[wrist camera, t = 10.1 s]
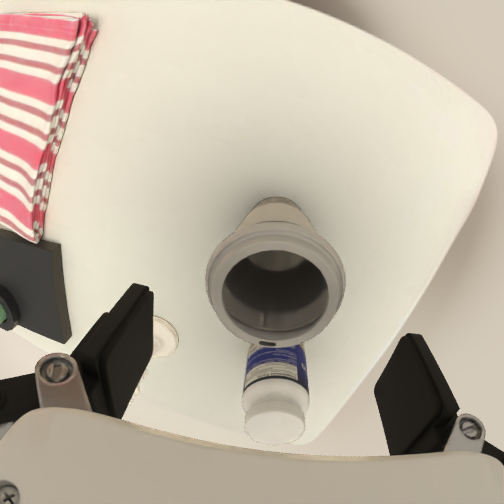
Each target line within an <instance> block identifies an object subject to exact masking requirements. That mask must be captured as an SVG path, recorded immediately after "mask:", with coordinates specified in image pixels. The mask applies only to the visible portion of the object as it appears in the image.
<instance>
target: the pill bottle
mask: <svg viewBox="0 0 504 504" xmlns="http://www.w3.org/2000/svg"><path fill="white" fill-rule="evenodd" d="M242 406H243V409H244V411H245V413H246V416H245V432H246V434H247V435H248V436H249V437H250V438H251V439H253V440H254V441H256V442H259V443H262V444H267V445H282V444H287V443H290V442H293V441H295V440H296V439H298V438H299V437H300V436H301V435H302V434H303V432H304V430H305V417H304V414H305V412H306V411H307V409H308V406H309V389H308V379H307V368H306V357H305V350H304V347H303V345H302V343H301V344H298V345H294V346H290V347H282V348H270V347H263V346H258V345H254V344H251V345H250V347H249V350H248V355H247V363H246V371H245V380H244V387H243V395H242Z"/></svg>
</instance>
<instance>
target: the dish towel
mask: <svg viewBox="0 0 504 504" xmlns="http://www.w3.org/2000/svg"><path fill="white" fill-rule="evenodd" d="M93 26H94V23H93V22H92V17H89V16H88V14H85V13H67V12H29V13H8V14H7V13H0V223H1V224H2V225H4V226H5V227H7V228H9V229H10V230H12V231H14V232H15V233H17V234H18V235H20V236H22V237H23V238H25V239H27V240H28V241H31V242H33V243H36V244H37V243H38V242H39V240H40V238H41V236H42V235H43V221H44V213H45V210H46V207H47V199H48V196H49V191H50V182H51V178H52V170H53V165H54V161H55V157H56V154H57V153H58V149H59V147H60V142H61V139H62V136H63V133H64V130H65V124H66V122H67V119H68V115H69V109H70V105H71V102H72V99H73V96H74V93H75V91H76V89H77V86H78V84H79V80H80V78H81V76H82V73H83V70H84V68H85V63H86V61H87V59H88V56H89V52H90V46H91V44H92V42H93V40H94V38H95V36H96V34H97V31H98V30H96V29H92V28H93Z"/></svg>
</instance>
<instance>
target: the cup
mask: <svg viewBox="0 0 504 504" xmlns="http://www.w3.org/2000/svg"><path fill="white" fill-rule="evenodd" d="M205 280H206V291H207V294H208V298H209V301H210V303H211V305H212V307H213V309H214V311H215V312H216V314H217V316H218V317H219V319H220V321H221V322H222V323H223V324H224V326H225V327H226V328H227V329H228V330H229V331H231V332H232V333H233V334H234V335H235V336H237V337H239V338H241V339H242V340H244V341H246V342H249V343H251V344H254V345H258V346H263V347H270V348H282V347H290V346H294V345H298V344H301V343H303V342H305V341H308V340H310V339H311V338H313V337H314V336H316V335H317V334H319V333H320V332H321V331H322V330H323V329H324V328H325V327H326V326H327V325H328V324H329V322H330V321H331V319H332V318H333V317H334V315H335V314H336V312H337V311H338V309H339V308H340V305H341V303H342V300H343V297H344V292H345V284H346V280H345V272H344V268H343V264H342V262H341V260H340V258H339V256H338V254H337V253H336V251H335V250H334V248H333V247H332V246H331V245H330V244H329V243H328V242H327V241H326V240H325V239H323V238H322V237H321V236H319V235H318V234H317V232H316V230H315V229H314V227H313V226H312V224H311V222H310V221H309V219H308V218H307V217H306V216H305V214H304V213H303V212H302V211H301V209H300V208H299V207H298V206H297V205H296V204H295V203H294V202H292V201H291V200H288V199H286V198H282V197H271V198H267V199H265V200H263V201H261V202H260V203H258V204H257V205H256V206H255V207H254V209H253V210H252V211H251V212H250V213H249V214H248V215H247V216H246V217H245V219H244V220H243V222H242V223H241V224H240V226H239V227H238V229H237V230H236V232H234V233H233V234H231V235H229V236H228V237H227V238H226V239H225V240H223V241H222V242H221V243H220V244H219V246H218V247H217V248H216V249H215V251H214V252H213V254H212V256H211V258H210V260H209V262H208V265H207V269H206V279H205Z"/></svg>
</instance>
